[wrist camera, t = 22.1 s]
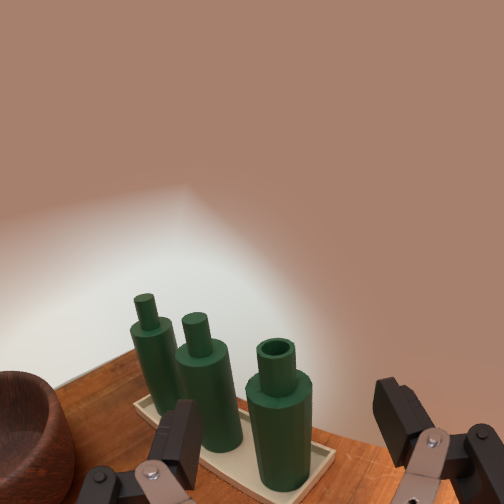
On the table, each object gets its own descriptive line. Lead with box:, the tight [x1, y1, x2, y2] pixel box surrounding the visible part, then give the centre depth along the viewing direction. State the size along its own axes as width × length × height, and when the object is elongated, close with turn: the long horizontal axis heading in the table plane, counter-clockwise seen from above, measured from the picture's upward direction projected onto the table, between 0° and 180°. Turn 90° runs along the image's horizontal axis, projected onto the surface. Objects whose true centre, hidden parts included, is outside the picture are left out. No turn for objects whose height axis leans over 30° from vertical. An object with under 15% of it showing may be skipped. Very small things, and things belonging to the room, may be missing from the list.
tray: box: [133, 394, 336, 504], centre depth 35 cm, size 28×10×2 cm, turn 50°
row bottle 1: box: [130, 293, 187, 417], centre depth 39 cm, size 6×6×18 cm
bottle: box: [245, 338, 312, 492], centre depth 26 cm, size 6×6×18 cm
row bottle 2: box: [175, 312, 243, 453], centre depth 33 cm, size 6×6×18 cm
